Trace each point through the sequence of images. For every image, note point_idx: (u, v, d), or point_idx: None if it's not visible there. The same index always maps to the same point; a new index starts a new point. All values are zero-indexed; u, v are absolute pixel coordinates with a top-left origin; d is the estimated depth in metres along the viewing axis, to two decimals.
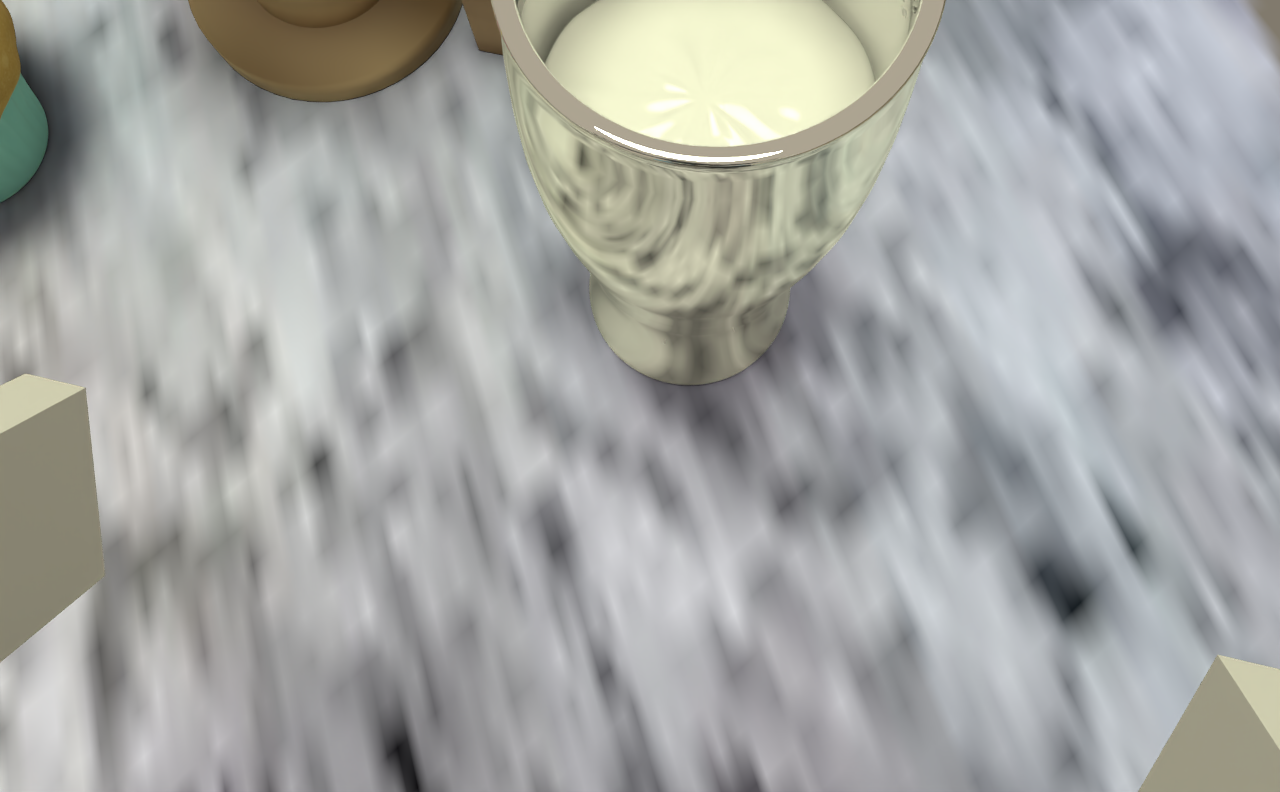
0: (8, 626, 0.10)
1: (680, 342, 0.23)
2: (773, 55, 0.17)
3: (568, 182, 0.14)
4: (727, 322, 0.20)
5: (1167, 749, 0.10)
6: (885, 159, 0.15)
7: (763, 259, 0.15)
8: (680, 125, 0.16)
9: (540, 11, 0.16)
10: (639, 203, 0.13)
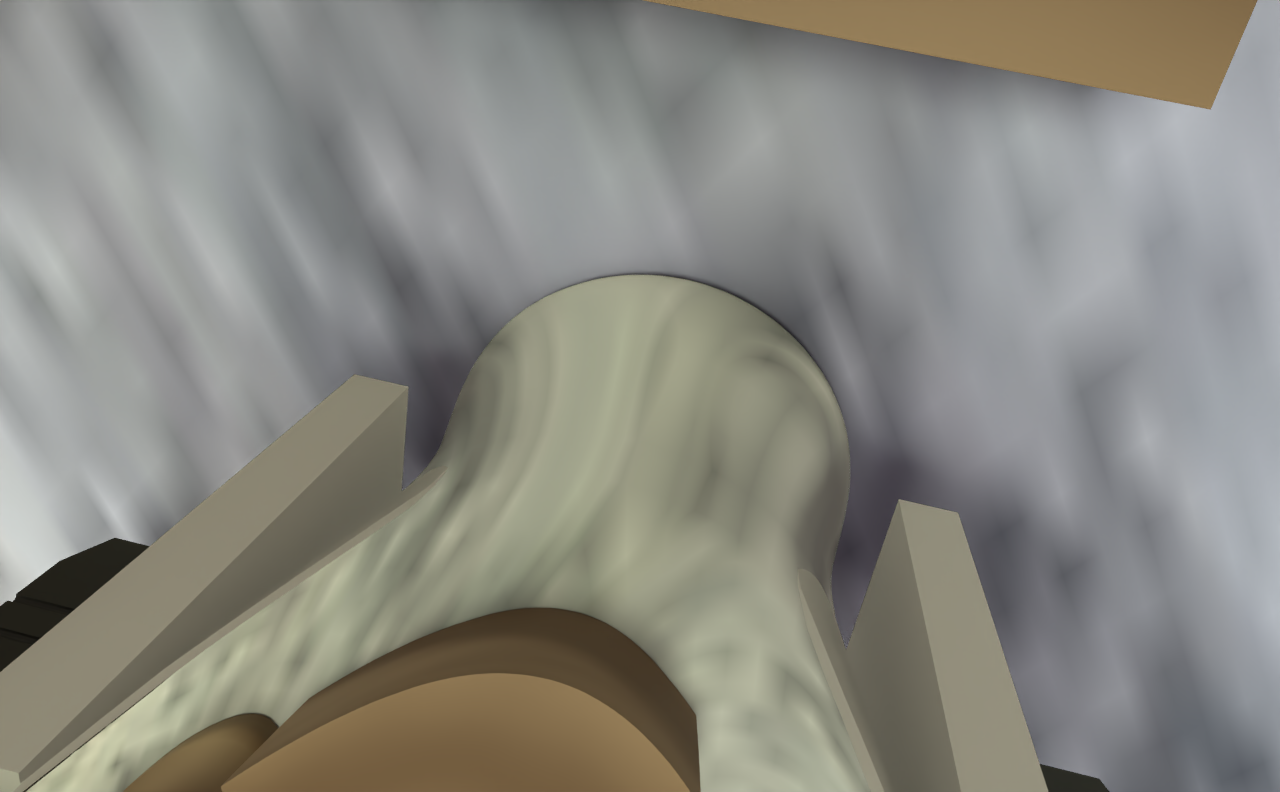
0: None
1: None
2: None
3: None
4: None
5: (872, 587, 0.12)
6: None
7: None
8: None
9: None
10: None
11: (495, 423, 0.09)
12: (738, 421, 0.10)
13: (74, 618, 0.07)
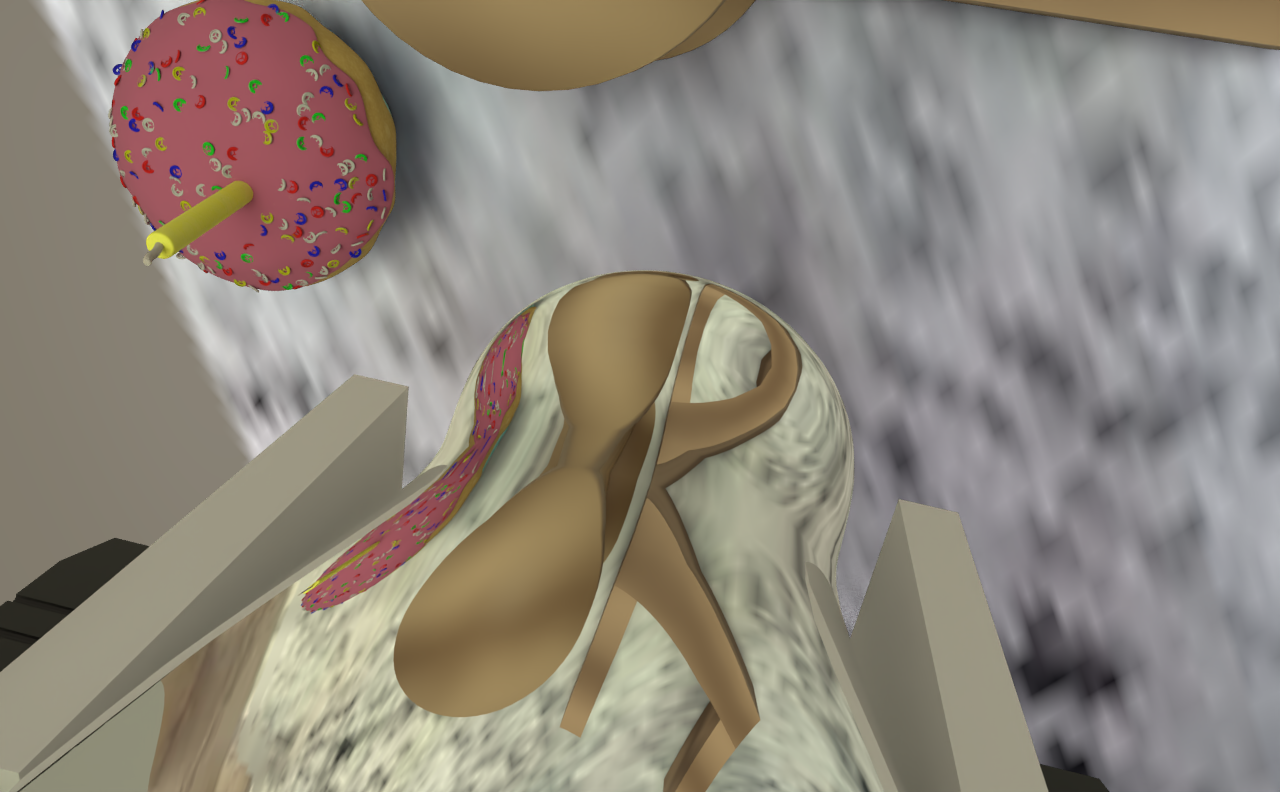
0: None
1: None
2: None
3: None
4: None
5: (872, 587, 0.12)
6: None
7: None
8: None
9: None
10: None
11: (500, 417, 0.09)
12: (743, 415, 0.10)
13: (74, 617, 0.07)
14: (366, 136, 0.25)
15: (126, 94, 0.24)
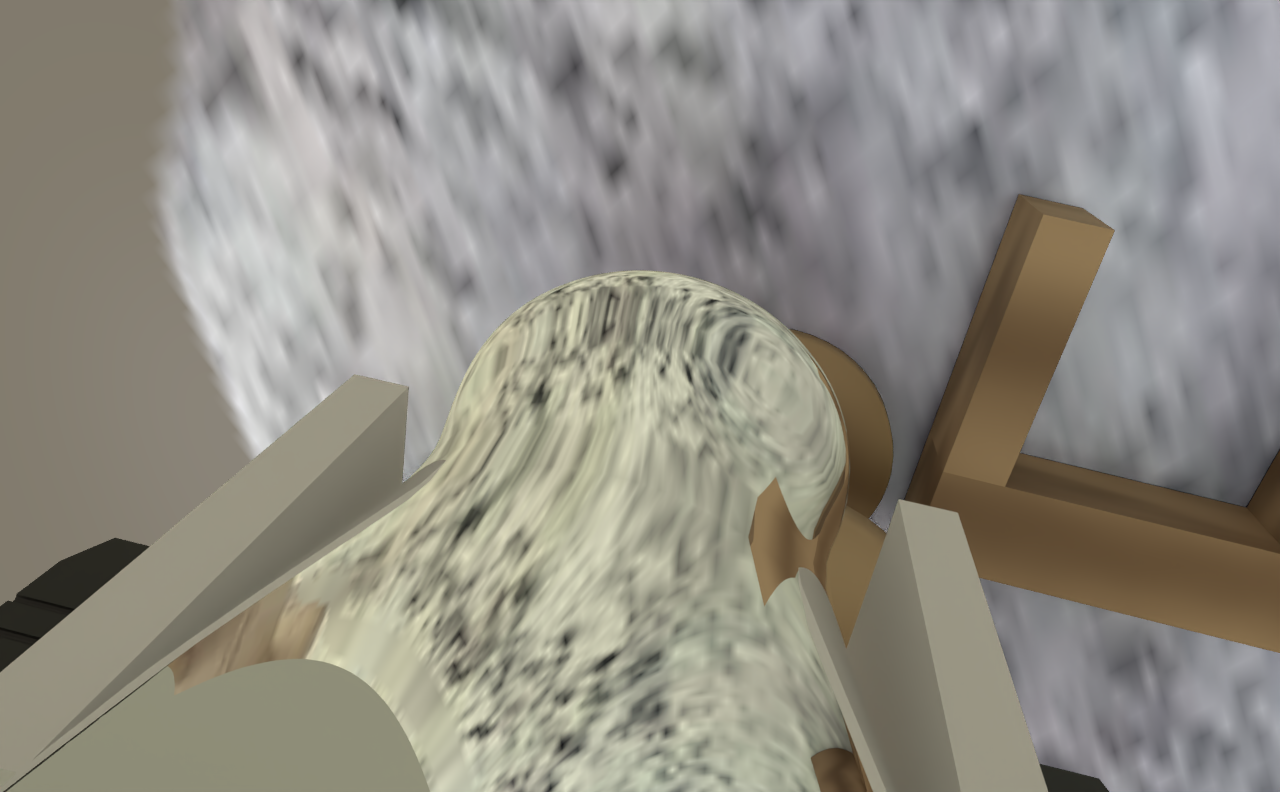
0: None
1: None
2: None
3: None
4: None
5: (871, 586, 0.12)
6: None
7: None
8: None
9: None
10: None
11: (493, 418, 0.09)
12: (736, 416, 0.10)
13: (76, 617, 0.07)
14: None
15: None
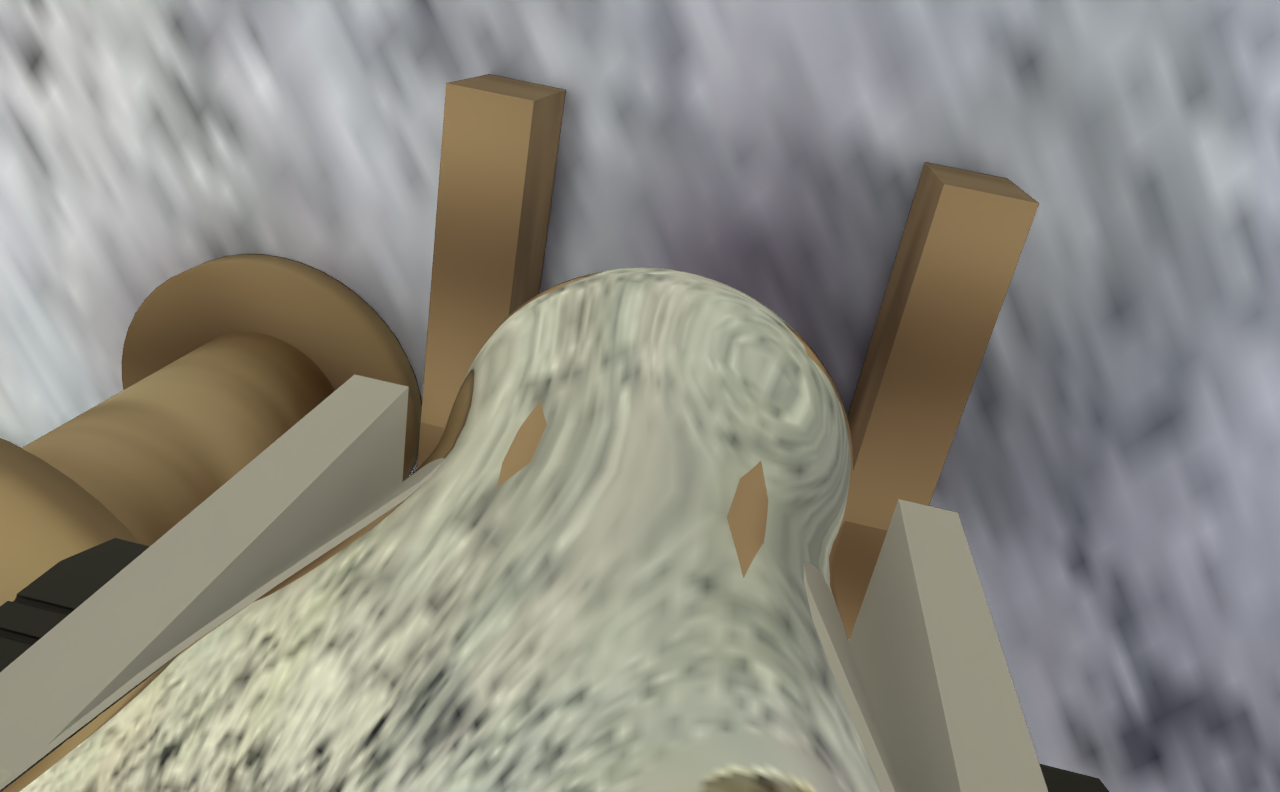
0: None
1: None
2: None
3: None
4: None
5: (872, 586, 0.12)
6: None
7: None
8: None
9: None
10: None
11: (495, 415, 0.09)
12: (739, 414, 0.10)
13: (76, 617, 0.07)
14: None
15: None
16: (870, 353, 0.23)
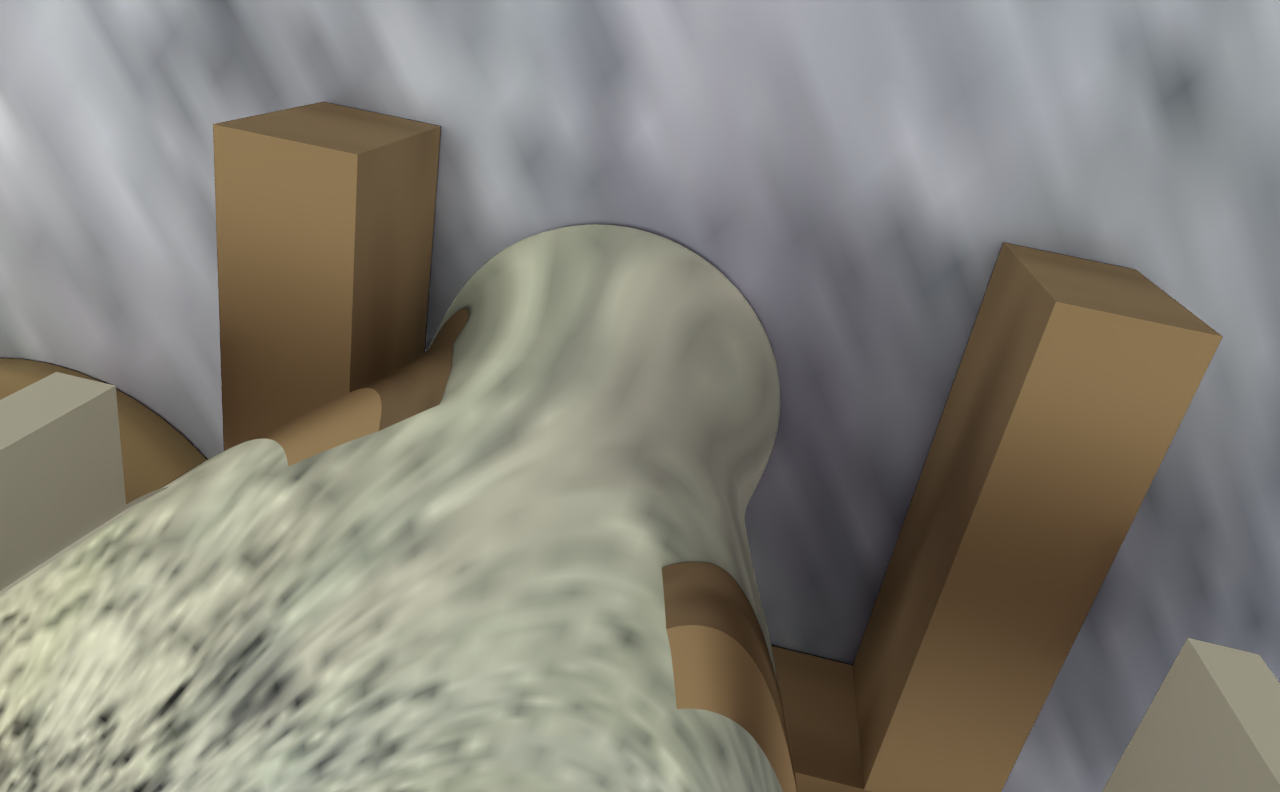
0: None
1: None
2: None
3: None
4: None
5: (1140, 732, 0.10)
6: None
7: None
8: None
9: None
10: None
11: (459, 335, 0.11)
12: (665, 337, 0.12)
13: None
14: None
15: None
16: (912, 525, 0.15)
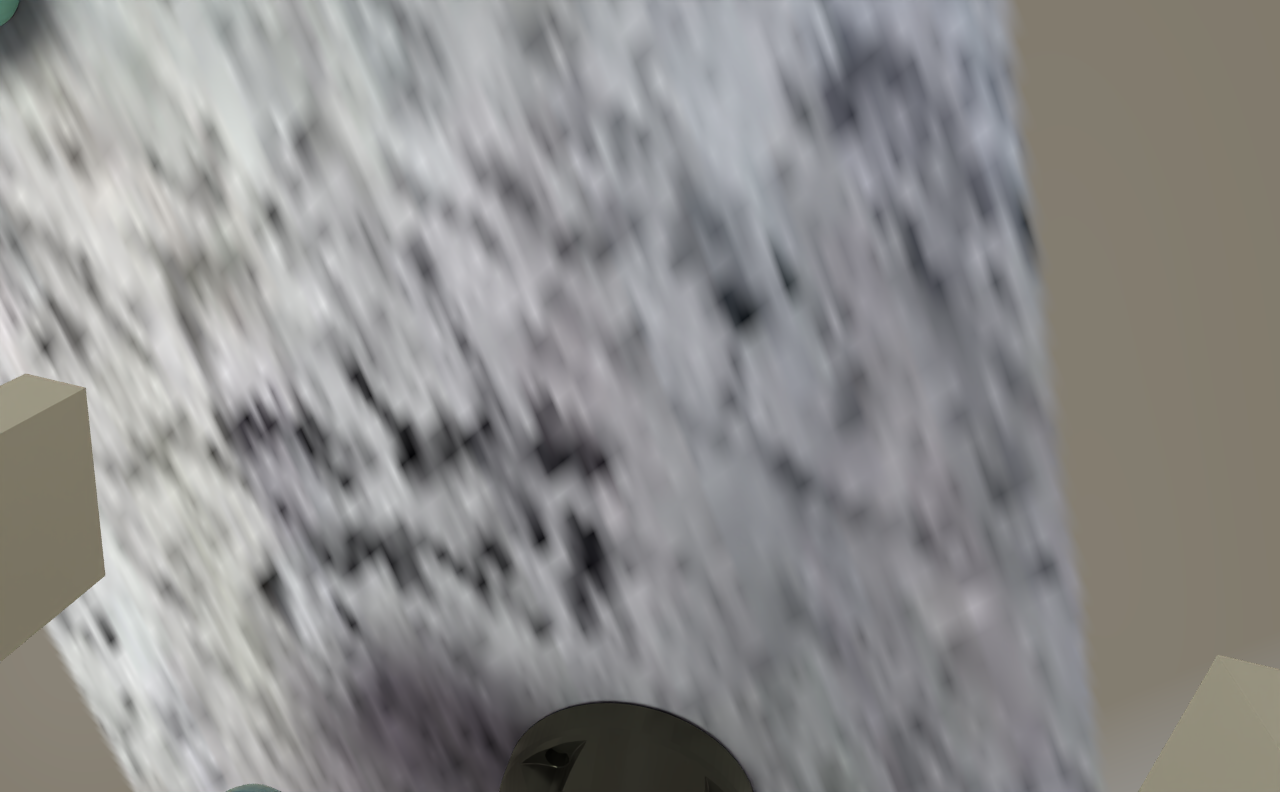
0: (8, 626, 0.10)
1: None
2: None
3: None
4: None
5: (1167, 750, 0.10)
6: None
7: None
8: None
9: None
10: None
11: None
12: None
13: None
14: None
15: None
16: None
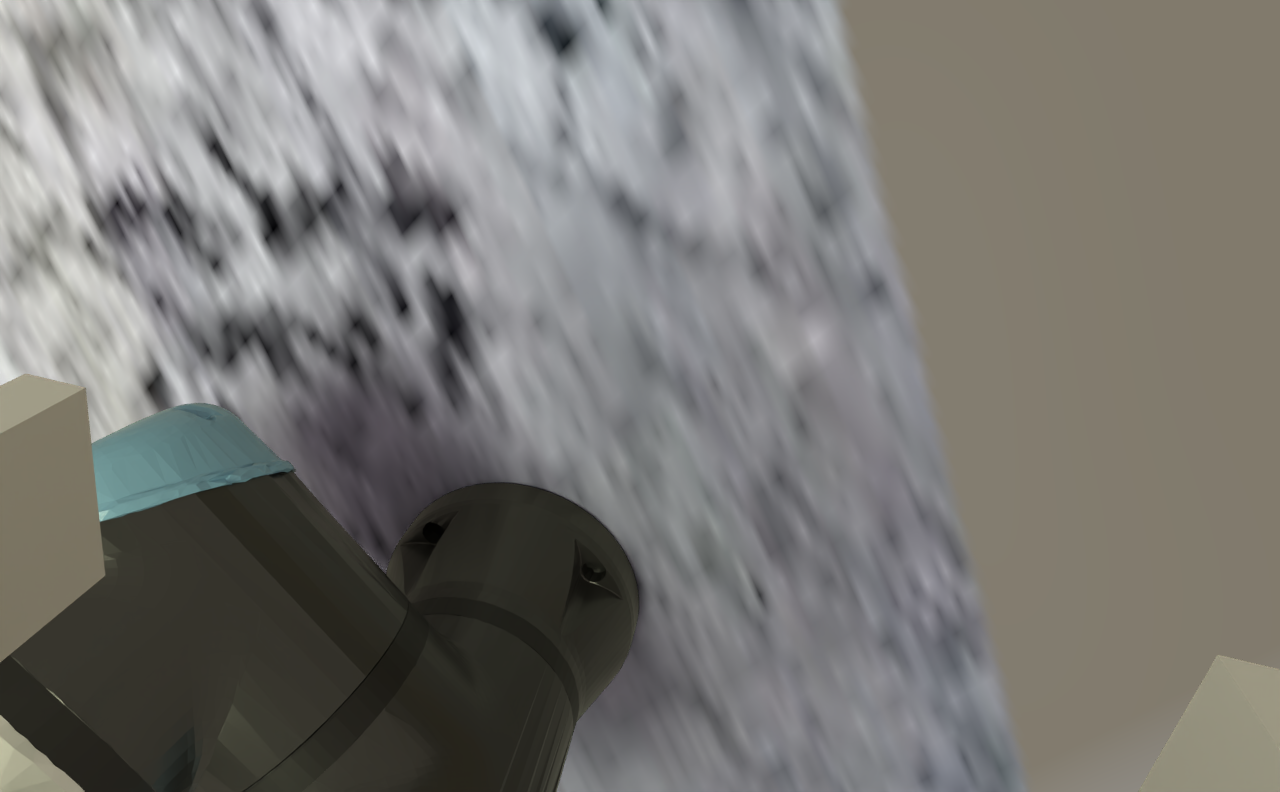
0: (8, 627, 0.10)
1: None
2: None
3: None
4: None
5: (1167, 750, 0.10)
6: None
7: None
8: None
9: None
10: None
11: None
12: None
13: None
14: None
15: None
16: None
